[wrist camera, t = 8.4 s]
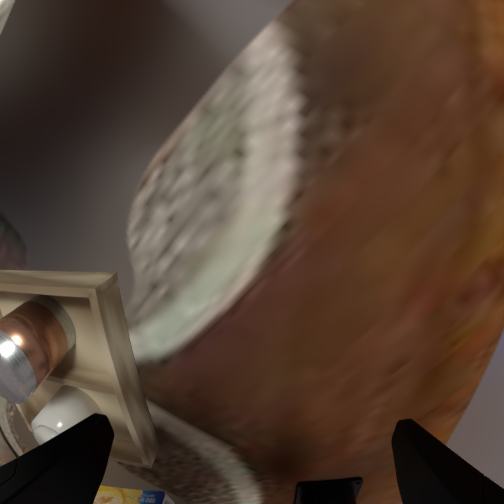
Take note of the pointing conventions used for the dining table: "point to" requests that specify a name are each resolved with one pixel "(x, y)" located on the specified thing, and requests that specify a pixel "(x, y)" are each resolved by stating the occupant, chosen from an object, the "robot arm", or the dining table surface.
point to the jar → (63, 412)
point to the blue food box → (130, 496)
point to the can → (32, 345)
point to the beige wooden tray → (90, 355)
